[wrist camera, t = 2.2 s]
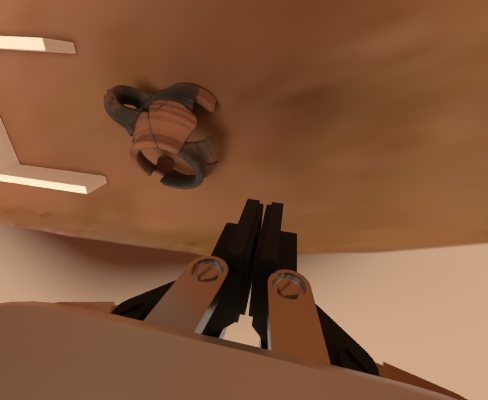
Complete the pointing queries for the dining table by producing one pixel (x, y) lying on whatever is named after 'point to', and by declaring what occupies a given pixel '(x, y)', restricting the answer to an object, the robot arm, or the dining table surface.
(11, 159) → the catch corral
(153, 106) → the pottery mug
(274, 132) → the dining table surface
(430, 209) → the dining table surface
